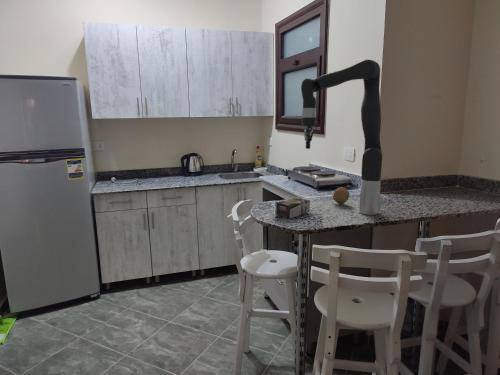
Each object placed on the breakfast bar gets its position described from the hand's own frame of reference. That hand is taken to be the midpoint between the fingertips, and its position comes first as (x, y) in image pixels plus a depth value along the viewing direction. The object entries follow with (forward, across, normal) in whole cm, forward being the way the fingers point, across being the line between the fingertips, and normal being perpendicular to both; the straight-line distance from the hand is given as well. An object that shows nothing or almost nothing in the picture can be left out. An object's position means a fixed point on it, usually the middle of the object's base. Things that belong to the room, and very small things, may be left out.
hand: (307, 148), depth 197 cm
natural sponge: (+31, -4, -19) cm, 37 cm away
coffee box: (+27, -18, +5) cm, 33 cm away
